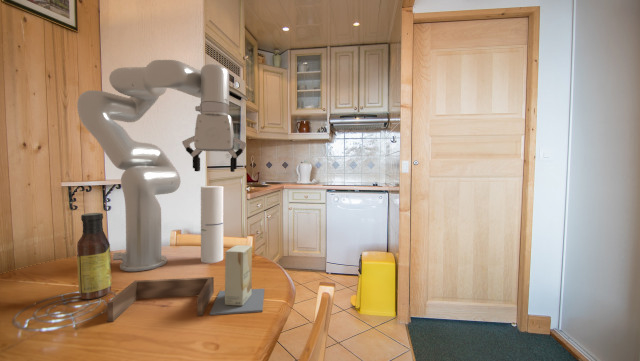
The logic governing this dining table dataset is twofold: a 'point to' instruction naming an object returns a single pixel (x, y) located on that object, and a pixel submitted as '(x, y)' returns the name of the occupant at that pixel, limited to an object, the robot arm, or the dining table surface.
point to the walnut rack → (162, 293)
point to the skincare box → (238, 274)
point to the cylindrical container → (211, 224)
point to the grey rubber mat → (249, 306)
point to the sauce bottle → (93, 258)
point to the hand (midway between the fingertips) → (215, 171)
